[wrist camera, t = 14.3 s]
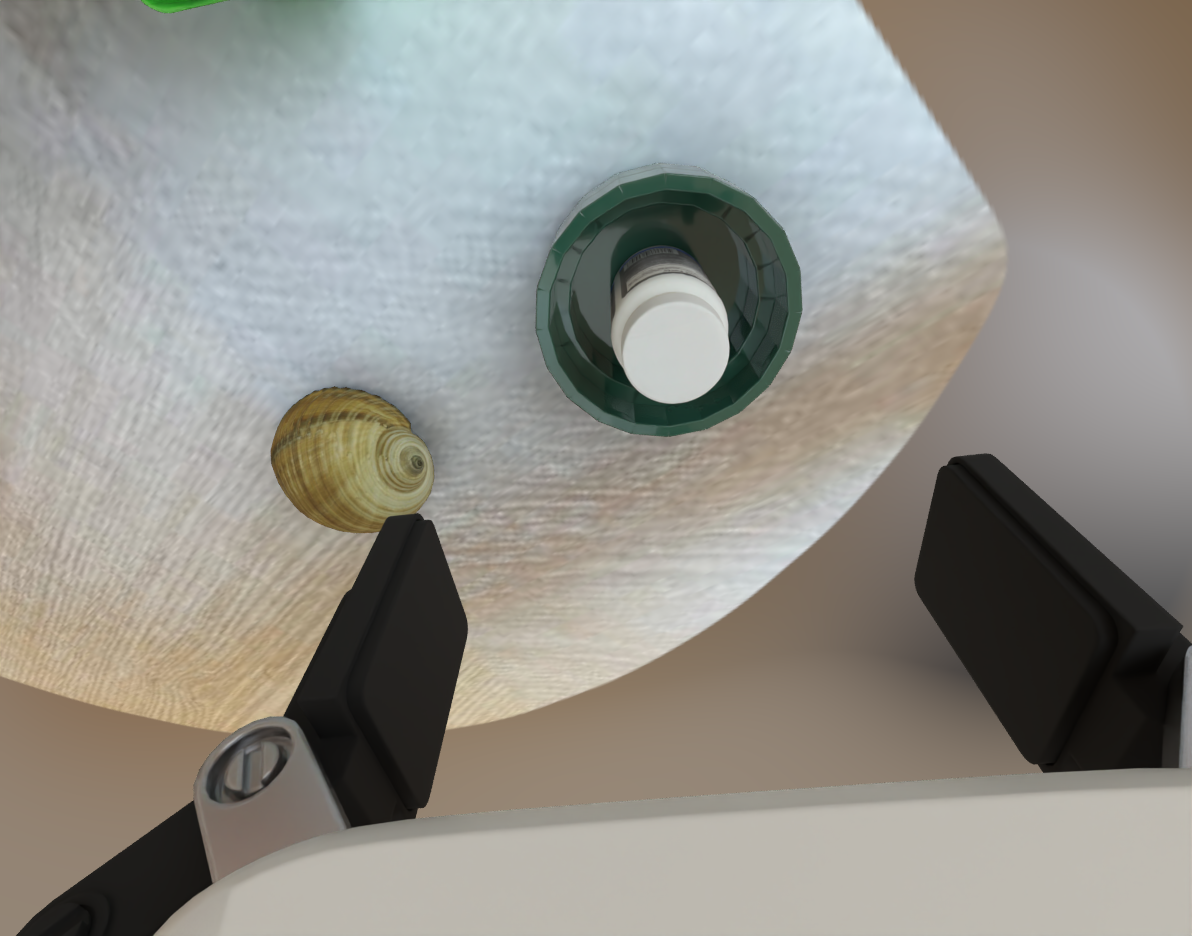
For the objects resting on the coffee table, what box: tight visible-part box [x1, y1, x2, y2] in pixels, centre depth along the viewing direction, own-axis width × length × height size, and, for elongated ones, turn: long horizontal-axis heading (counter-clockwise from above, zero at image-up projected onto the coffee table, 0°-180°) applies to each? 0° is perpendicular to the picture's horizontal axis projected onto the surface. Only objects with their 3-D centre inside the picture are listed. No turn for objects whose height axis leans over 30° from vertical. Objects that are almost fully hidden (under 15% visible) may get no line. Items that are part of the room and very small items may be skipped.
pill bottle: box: [610, 245, 729, 404], centre depth 25 cm, size 5×5×8 cm
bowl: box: [535, 163, 802, 437], centre depth 27 cm, size 11×11×5 cm
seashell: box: [271, 386, 434, 533], centre depth 32 cm, size 10×7×8 cm
